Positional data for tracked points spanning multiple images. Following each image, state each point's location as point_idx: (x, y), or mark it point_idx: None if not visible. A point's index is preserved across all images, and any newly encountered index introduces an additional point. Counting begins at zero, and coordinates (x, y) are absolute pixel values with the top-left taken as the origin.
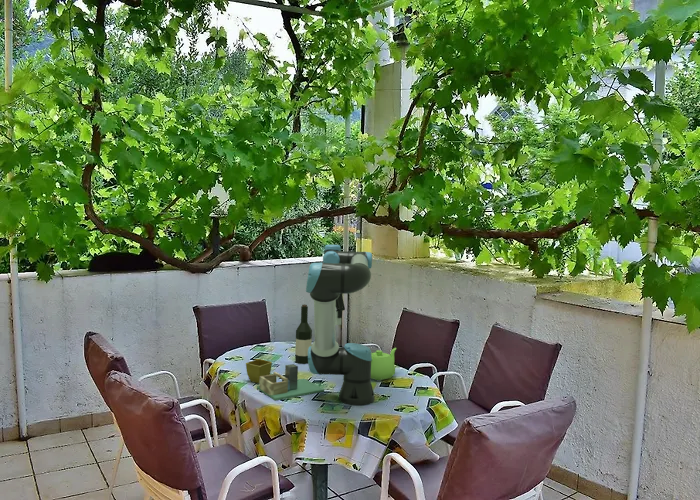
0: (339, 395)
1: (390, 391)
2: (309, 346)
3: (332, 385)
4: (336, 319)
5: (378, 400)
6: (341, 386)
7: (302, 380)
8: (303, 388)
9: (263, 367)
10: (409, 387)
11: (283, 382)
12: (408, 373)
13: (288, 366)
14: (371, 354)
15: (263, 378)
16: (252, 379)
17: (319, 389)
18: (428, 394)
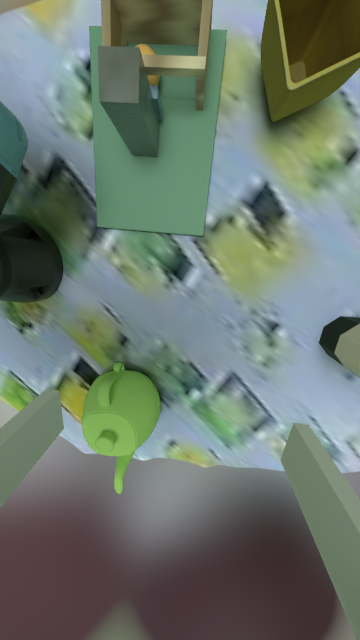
0: (20, 218)
1: (44, 352)
2: (357, 365)
3: (132, 277)
4: (1, 429)
5: None
6: (13, 227)
7: (192, 220)
8: (129, 177)
9: (273, 25)
10: None
11: None
12: None
13: (113, 49)
14: (122, 424)
15: None
16: (295, 48)
17: (102, 215)
18: (7, 392)
